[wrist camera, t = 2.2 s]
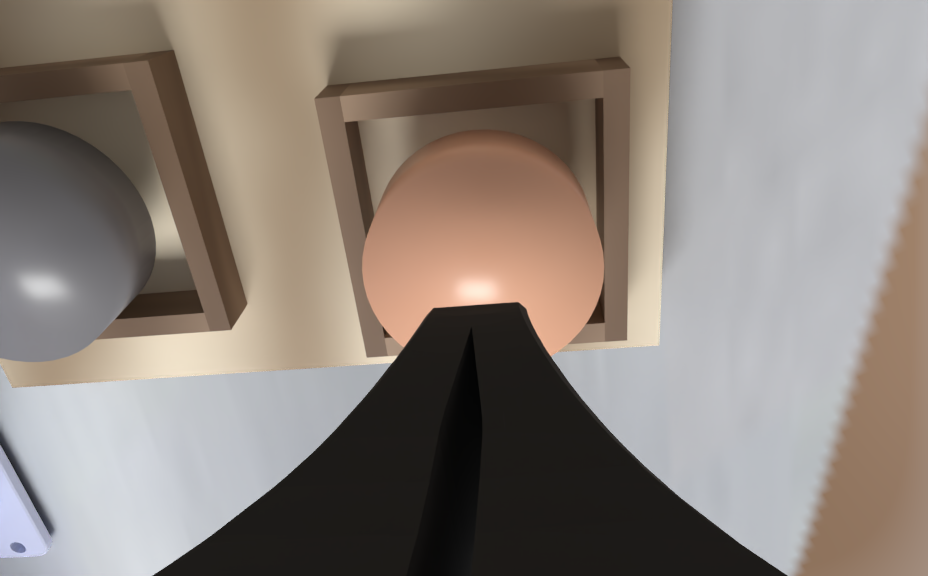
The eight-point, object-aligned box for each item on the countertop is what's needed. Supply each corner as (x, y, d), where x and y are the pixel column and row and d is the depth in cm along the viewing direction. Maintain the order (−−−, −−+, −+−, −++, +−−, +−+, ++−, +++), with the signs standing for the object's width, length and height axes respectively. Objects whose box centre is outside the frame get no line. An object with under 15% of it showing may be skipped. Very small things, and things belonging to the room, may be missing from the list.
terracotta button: (393, 333, 15) (382, 381, 14) (359, 140, 13) (342, 170, 12) (592, 319, 15) (604, 367, 13) (589, 119, 13) (603, 147, 11)
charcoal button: (-5, 322, 15) (-61, 368, 14) (-100, 131, 13) (-179, 160, 12) (181, 309, 15) (145, 354, 14) (114, 110, 13) (62, 136, 11)
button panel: (54, 346, 20) (-17, 416, 17) (-299, -423, 12) (-533, -524, 9) (643, 305, 19) (670, 373, 16) (665, -588, 11) (725, -764, 8)
